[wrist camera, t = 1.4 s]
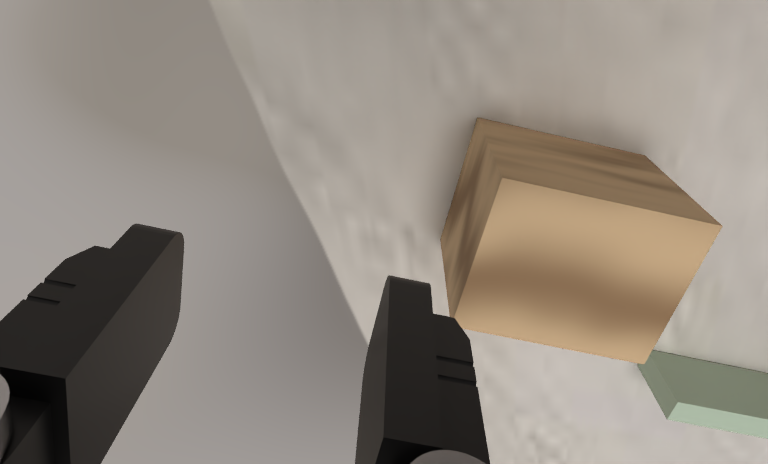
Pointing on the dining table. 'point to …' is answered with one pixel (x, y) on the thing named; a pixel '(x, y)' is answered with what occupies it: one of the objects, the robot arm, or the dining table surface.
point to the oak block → (569, 243)
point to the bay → (708, 393)
